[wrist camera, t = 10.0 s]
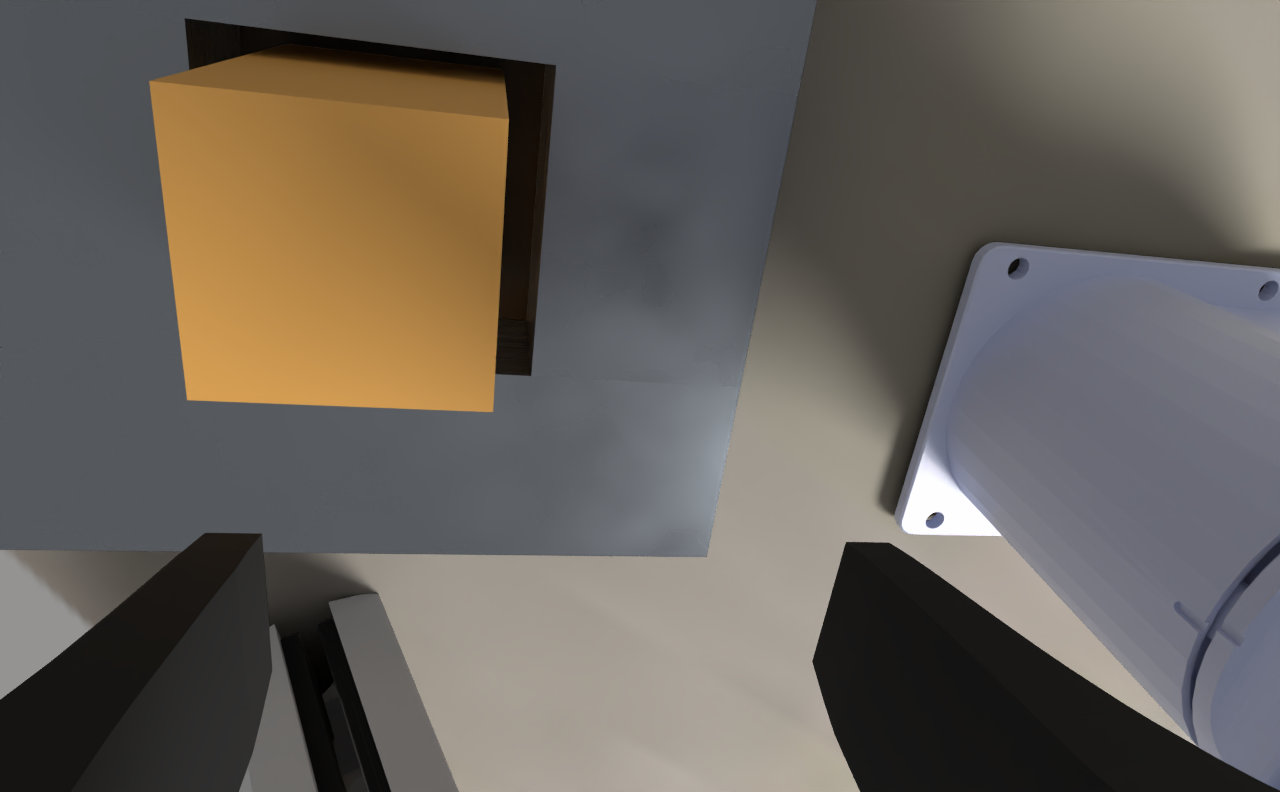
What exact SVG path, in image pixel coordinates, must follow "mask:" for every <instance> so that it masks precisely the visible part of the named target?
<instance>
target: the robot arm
mask: <svg viewBox="0 0 1280 792" xmlns="http://www.w3.org/2000/svg"><path fill="white" fill-rule="evenodd" d="M1018 258H1019V259H1020V261H1019V266H1018V268H1017V269H1016V270H1015V271H1014V272H1013V273H1011V274H1008V267H1009V266H1010V264H1011V262H1013V261H1014V260H1015V259H1018ZM1264 284H1265V286H1264V288H1263V289H1262V291H1261V292H1259V290H1260V289H1261V287H1262V286H1263V285H1264ZM935 512H937V513H936V515H935V516H934V517H933V518H932V519H930V520H926V519H927V518H928V516H929V515H931V514H932V513H935ZM895 521H896V523H897V524H898V526H899V527H900V528H901V530H902V531H904V532H905V533H907V534H912V535H968V536H1003V537H1004V538H1005V539H1006V540H1007V541H1008V543H1009V544H1010V545H1011V546H1012V547H1013V548H1014V549H1015V550H1016V551H1017V552H1018V553H1019V554H1020V555H1021V557H1022V558H1023V559H1024V560H1025V561H1026V562H1027V563H1028V564H1029V565H1030V566H1031V567H1032V568H1033V569H1034V571H1035V572H1036V573H1037V574H1038V575H1039V576H1040V577H1041V578H1042V579H1043V580H1044V581H1045V582H1046V584H1047V585H1048V586H1049V587H1050V588H1051V589H1052V590H1053V591H1054V592H1055V593H1056V594H1057V595H1058V596H1059V598H1060V599H1061V600H1062V601H1063V602H1064V603H1065V604H1066V605H1067V606H1068V607H1069V608H1070V609H1071V610H1072V612H1073V613H1074V614H1075V615H1076V616H1077V617H1078V618H1079V619H1080V620H1081V621H1082V622H1083V623H1084V624H1085V626H1086V627H1087V628H1088V629H1089V630H1090V631H1091V632H1092V633H1093V634H1094V635H1095V636H1096V637H1097V638H1098V640H1099V641H1100V642H1101V643H1102V644H1103V645H1104V646H1105V647H1106V648H1107V649H1108V650H1109V651H1110V652H1111V654H1112V655H1113V656H1114V657H1115V658H1116V659H1117V660H1118V661H1119V662H1120V663H1121V664H1122V665H1123V666H1124V668H1125V669H1126V670H1127V671H1128V672H1129V673H1130V674H1131V675H1132V676H1133V677H1134V678H1135V679H1136V680H1137V682H1138V683H1139V684H1140V685H1141V686H1142V687H1143V688H1144V689H1145V690H1146V691H1147V692H1148V693H1149V695H1150V696H1151V697H1152V698H1153V699H1154V700H1155V701H1156V702H1157V703H1158V704H1159V705H1160V706H1161V707H1162V709H1163V710H1164V711H1165V712H1166V713H1167V714H1168V715H1169V716H1170V717H1171V718H1172V719H1173V720H1174V721H1175V723H1176V724H1177V725H1178V726H1179V727H1180V728H1181V729H1182V730H1183V731H1184V732H1185V733H1186V734H1187V735H1188V737H1189V738H1190V739H1191V740H1192V741H1193V742H1194V743H1195V744H1196V745H1197V746H1198V747H1197V746H1195V745H1193V744H1192V743H1190V742H1188V741H1186V740H1185V739H1183V738H1181V737H1179V736H1178V735H1176V734H1174V733H1172V732H1171V731H1169V730H1167V729H1165V728H1164V727H1162V726H1160V725H1158V724H1157V723H1155V722H1153V721H1151V720H1150V719H1148V718H1146V717H1145V716H1143V715H1142V714H1140V713H1138V712H1137V711H1135V710H1133V709H1132V708H1130V707H1128V706H1127V705H1125V704H1124V703H1122V702H1120V701H1119V700H1117V699H1116V698H1114V697H1113V696H1111V695H1110V694H1108V693H1106V692H1105V691H1103V690H1102V689H1100V688H1099V687H1097V686H1096V685H1094V684H1093V683H1091V682H1090V681H1088V680H1086V679H1085V678H1083V677H1082V676H1080V675H1079V674H1077V673H1076V672H1074V671H1073V670H1071V669H1069V668H1068V667H1067V666H1065V665H1064V664H1062V663H1061V662H1059V661H1058V660H1056V659H1055V658H1053V657H1052V656H1050V655H1049V654H1047V653H1046V652H1045V651H1043V650H1042V649H1040V648H1039V647H1037V646H1036V645H1034V644H1033V643H1032V642H1030V641H1029V640H1027V639H1026V638H1024V637H1023V636H1022V635H1020V634H1019V633H1017V632H1016V631H1015V630H1013V629H1012V628H1010V627H1009V626H1008V625H1006V624H1005V623H1003V622H1002V621H1000V620H999V619H998V618H996V617H995V616H994V615H992V614H991V613H989V612H988V611H987V610H985V609H984V608H982V607H981V606H980V605H978V604H977V603H976V602H974V601H973V600H971V599H970V598H969V597H967V596H966V595H965V594H963V593H962V592H960V591H959V590H958V589H956V588H955V587H954V586H952V585H951V584H949V583H948V582H947V581H945V580H944V579H942V578H941V577H940V576H938V575H937V574H935V573H934V572H933V571H931V570H930V569H928V568H927V567H925V566H924V565H923V564H921V563H920V562H918V561H917V560H915V559H914V558H912V557H911V556H909V555H908V554H906V553H905V552H903V551H902V550H900V549H898V548H897V547H895V546H893V545H892V544H890V543H874V542H846V544H845V548H844V551H843V555H842V558H841V562H840V565H839V569H838V573H837V576H836V580H835V583H834V587H833V590H832V594H831V597H830V601H829V604H828V608H827V612H826V615H825V619H824V622H823V626H822V629H821V633H820V636H819V640H818V644H817V647H816V651H815V654H814V658H813V661H812V662H813V665H814V669H815V672H816V676H817V679H818V682H819V686H820V689H821V693H822V696H823V700H824V703H825V706H826V709H827V712H828V715H829V718H830V722H831V725H832V728H833V731H834V734H835V736H836V738H837V741H838V743H839V745H840V748H841V750H842V752H843V754H844V757H845V759H846V761H847V763H848V766H849V768H850V770H851V772H852V774H853V777H854V779H855V781H856V783H857V786H858V788H859V790H860V792H1280V269H1278V268H1268V267H1257V266H1246V265H1236V264H1225V263H1215V262H1204V261H1193V260H1183V259H1172V258H1162V257H1151V256H1141V255H1130V254H1119V253H1109V252H1098V251H1088V250H1077V249H1067V248H1056V247H1045V246H1035V245H1024V244H1014V243H1003V242H993V243H989V244H987V245H985V246H983V247H982V248H981V249H980V250H979V251H978V252H977V253H976V254H975V256H974V258H973V260H972V263H971V266H970V270H969V273H968V276H967V279H966V283H965V286H964V289H963V292H962V296H961V299H960V302H959V305H958V309H957V312H956V315H955V318H954V322H953V325H952V328H951V332H950V335H949V338H948V341H947V345H946V348H945V351H944V354H943V358H942V361H941V364H940V367H939V371H938V374H937V377H936V381H935V384H934V387H933V390H932V394H931V397H930V400H929V403H928V407H927V410H926V413H925V416H924V420H923V423H922V426H921V429H920V433H919V436H918V439H917V443H916V446H915V449H914V452H913V456H912V459H911V462H910V465H909V469H908V472H907V475H906V478H905V482H904V485H903V488H902V491H901V495H900V498H899V501H898V505H897V508H896V511H895ZM271 674H272V657H271V644H270V631H269V618H268V605H267V592H266V578H265V565H264V552H263V539H262V534H260V533H204V534H203V535H202V536H200V537H199V538H198V539H197V540H196V541H194V542H193V543H192V544H191V545H190V546H188V547H187V548H186V549H185V550H183V551H182V552H181V553H180V554H179V555H177V556H176V557H175V558H174V559H173V560H172V561H170V562H169V563H168V564H167V565H166V566H165V567H163V568H162V569H161V570H160V571H159V572H158V573H156V574H155V575H154V576H153V577H152V578H151V579H149V580H148V581H147V582H146V583H145V584H144V585H142V586H141V587H140V588H139V589H138V590H137V591H135V592H134V593H133V594H132V595H131V596H130V597H128V598H127V599H126V600H125V601H124V602H123V603H121V604H120V605H119V606H118V607H117V608H116V609H114V610H113V611H112V612H111V613H110V614H108V615H107V616H106V617H105V618H103V619H102V620H101V621H100V622H99V623H97V624H96V625H95V626H94V627H93V628H91V629H90V630H89V631H88V632H86V633H85V634H84V635H83V636H82V637H80V638H79V639H78V640H77V641H75V642H74V643H73V644H72V645H71V646H69V647H68V648H67V649H66V650H65V651H63V652H62V653H61V654H60V655H58V656H57V657H56V658H55V659H53V660H52V661H51V662H50V663H48V664H47V665H46V666H44V667H43V668H42V669H40V670H39V671H38V672H37V673H35V674H34V675H33V676H31V677H30V678H28V679H27V680H26V681H25V682H23V683H22V684H21V685H19V686H18V687H17V688H16V689H14V690H13V691H11V692H10V693H9V694H7V695H6V696H5V697H3V698H2V699H1V700H0V792H239V790H240V787H241V784H242V782H243V779H244V776H245V773H246V771H247V768H248V765H249V762H250V759H251V757H252V754H253V750H254V746H255V742H256V738H257V734H258V730H259V726H260V722H261V718H262V713H263V709H264V705H265V700H266V696H267V692H268V687H269V683H270V678H271Z"/></svg>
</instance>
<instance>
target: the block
mask: <svg viewBox="0 0 1280 792" xmlns="http://www.w3.org/2000/svg"><path fill="white" fill-rule="evenodd" d="M149 84H150V92H151V101H152V109H153V117H154V126H155V134H156V143H157V151H158V159H159V168H160V176H161V185H162V193H163V201H164V210H165V218H166V227H167V235H168V243H169V252H170V260H171V268H172V277H173V285H174V294H175V302H176V310H177V319H178V327H179V336H180V344H181V352H182V361H183V369H184V378H185V386H186V394H187V400H195V401H221V402H246V403H272V404H297V405H322V406H348V407H373V408H399V409H424V410H450V411H475V412H493V404H494V386H495V367H496V349H497V331H498V312H499V294H500V276H501V257H502V239H503V220H504V202H505V184H506V165H507V147H508V128H509V115H508V106H507V97H506V87H505V78H504V69H497V68H488V67H480V66H471V65H463V64H455V63H446V62H438V61H429V60H421V59H412V58H404V57H395V56H387V55H378V54H370V53H362V52H353V51H345V50H336V49H328V48H319V47H311V46H302V45H294V44H284V45H281V46H277V47H273V48H269V49H266V50H262V51H258V52H255V53H251V54H247V55H244V56H240V57H236V58H232V59H229V60H225V61H221V62H218V63H214V64H210V65H207V66H203V67H199V68H195V69H192V70H188V71H184V72H181V73H177V74H173V75H169V76H166V77H162V78H158V79H155V80H151V81H149Z"/></svg>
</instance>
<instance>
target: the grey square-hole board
mask: <svg viewBox="0 0 1280 792" xmlns="http://www.w3.org/2000/svg"><path fill="white" fill-rule="evenodd" d="M816 3H817V0H0V550H83V551H179V552H182V551H183V550H185V549H186V548H187V547H188V546H190V545H191V544H192V543H193V542H194V541H196V540H197V539H198V538H199V537H200V536H202V535H203V534H204V533H260V534H262V539H263V552H274V553H369V554H464V555H560V556H655V557H707V553H708V548H709V543H710V538H711V532H712V527H713V522H714V517H715V512H716V507H717V502H718V497H719V492H720V487H721V482H722V477H723V472H724V467H725V462H726V457H727V452H728V447H729V442H730V437H731V432H732V426H733V421H734V416H735V411H736V406H737V401H738V396H739V391H740V386H741V381H742V376H743V371H744V366H745V361H746V356H747V351H748V346H749V341H750V336H751V331H752V326H753V321H754V315H755V310H756V305H757V300H758V295H759V290H760V285H761V280H762V275H763V270H764V265H765V260H766V255H767V250H768V245H769V240H770V235H771V230H772V225H773V220H774V215H775V209H776V204H777V199H778V194H779V189H780V184H781V179H782V174H783V169H784V164H785V159H786V154H787V149H788V144H789V139H790V134H791V129H792V124H793V119H794V114H795V109H796V103H797V98H798V93H799V88H800V83H801V78H802V73H803V68H804V63H805V58H806V53H807V48H808V43H809V38H810V33H811V28H812V23H813V18H814V13H815V8H816ZM240 25H242V26H250V27H258V28H266V29H274V30H282V31H290V32H298V33H305V34H313V35H321V36H329V37H337V38H345V39H353V40H361V41H369V42H377V43H384V44H392V45H400V46H408V47H416V48H424V49H432V50H440V51H448V52H456V53H464V54H471V55H479V56H487V57H495V58H503V59H511V60H519V61H527V62H535V63H543V64H545V74H544V88H543V101H542V114H541V127H540V141H539V154H538V167H537V181H536V194H535V207H534V220H533V234H532V247H531V260H530V273H529V287H528V300H527V313H526V321H525V320H510V319H498V331H497V349H496V367H495V386H494V404H493V412H475V411H450V410H424V409H399V408H373V407H348V406H322V405H297V404H272V403H246V402H221V401H195V400H187V394H186V386H185V378H184V369H183V361H182V352H181V344H180V336H179V327H178V319H177V310H176V302H175V294H174V285H173V277H172V268H171V260H170V252H169V243H168V235H167V227H166V218H165V210H164V201H163V193H162V185H161V176H160V168H159V159H158V151H157V143H156V134H155V126H154V117H153V109H152V101H151V92H150V84H149V81H151V80H155V79H158V78H162V77H166V76H169V75H173V74H177V73H181V72H184V71H188V70H192V69H195V68H199V67H203V66H207V65H210V64H214V63H218V62H221V61H225V60H229V59H232V58H236V57H240V56H242V52H241V37H240Z"/></svg>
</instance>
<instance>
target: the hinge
mask: <svg viewBox="0 0 1280 792" xmlns="http://www.w3.org/2000/svg"><path fill="white" fill-rule="evenodd" d="M329 606H330V609H331V612H332V615H333V618H331V619H329V620H326V621H324V622H322V623H319V624H317V627H318V631H319V634H320V637H321V640H322V644H323V647H324V650H325V653H326V657H327V660H328V663H329V666H330V670H331V673H332V676H333V680H334V682H333V683H332V685H331V686H330V687H329V688H328V689H327V690H326V691H325V693H324V694H323V695H322V694H321V690H320V687H319V683H318V680H317V678H316V675H315V673H314V671H313V668H312V666H311V663H310V661H309V658H308V656H307V654H306V651H305V649H304V646H303V644H302V642H301V639H300V637H299V634H298V633H295V634H293V635H291V636H288V637H286V638H283V639H281V638H280V636H279V634H278V632H277V629H276V627H275V625H272V626H270V627H269V631H270V644H271V657H272V674H271V678H270V683H269V687H268V692H267V696H266V700H265V705H264V709H263V713H262V718H261V722H260V726H259V730H258V734H257V738H256V742H255V746H254V750H253V754H252V757H251V759H250V762H249V765H248V768H247V771H246V773H245V776H244V779H243V782H242V784H241V787H240V790H239V791H240V792H459V791H458V789H457V786H456V784H455V781H454V779H453V776H452V774H451V771H450V769H449V766H448V764H447V761H446V759H445V757H444V754H443V752H442V749H441V747H440V744H439V742H438V739H437V737H436V734H435V732H434V729H433V727H432V724H431V722H430V720H429V717H428V715H427V712H426V710H425V707H424V705H423V702H422V700H421V697H420V695H419V692H418V690H417V687H416V685H415V683H414V680H413V678H412V675H411V673H410V670H409V668H408V665H407V663H406V660H405V658H404V655H403V653H402V650H401V648H400V646H399V643H398V641H397V638H396V636H395V633H394V631H393V628H392V626H391V623H390V621H389V618H388V616H387V614H386V611H385V609H384V606H383V604H382V601H381V599H380V596H379V594H361V595H356V596H352V597H347V598H343V599H339V600H334V601H330V602H329Z"/></svg>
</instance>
